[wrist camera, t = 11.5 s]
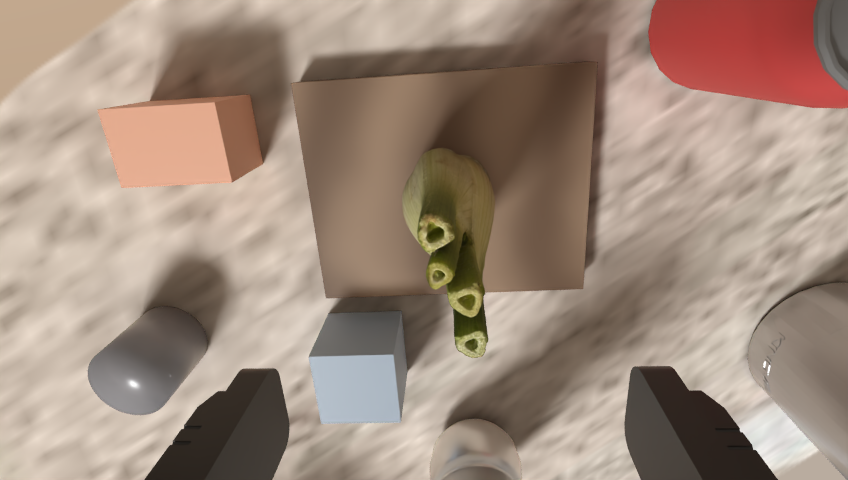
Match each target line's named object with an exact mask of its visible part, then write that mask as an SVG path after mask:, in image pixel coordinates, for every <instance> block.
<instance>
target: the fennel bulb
mask: <svg viewBox="0 0 848 480" xmlns="http://www.w3.org/2000/svg"><path fill="white" fill-rule="evenodd" d="M402 211H403V216H404V219H405V222H406V224H407V225H408V227H409V229H410V231H411V233H412V234H413V236H414V237H415V238H416V240H417V241H418V242H419V244H420V245H421V247H422V248H423V249H424V250H425V251H426V252H427V253H428V254H430V255H431V256H430V259H429V262H428V265H427V269H426V278H427V281H428V284H429V286H430V287H431V288H433V289H435V290H436V289H438V288H440V287H441V286H443V285H445V284H446V289H447V295H448V299H449V303H450V305H451V307H452V308H453V313H454V337H455V345H456V347H457V349H458V351H459V352H462V353H463V354H464V355H466V356H469V357H471V358H477V357H482V356H483V355H484V353H485V347H486V343H487V342H488V335H487V326H486V317H485V311H484V303H483V296H484V294H485V288H484V285H483V270H484V266H485V257H486V252H487V248H488V244H489V239H490V235H491V230H492V225H493V219H494V211H495V197H494V192H493V189H492V185H491V182H490V177H489V175H488V173H487V171H486V170H485V168H484V167H483V165H482V164H481V163H480V162H479V161H478V160H476V159H475V158H473V157H471V156H468V155H458V154H456V153H455V152H454V151H452V150H450V149H446V148H436V149H432V150H430V151H426V152H425V153H424V154H423V155H422V156H421V157H420V159H419V161H418V162H417V164H416V167H415V169H414V171H413V173H412V174H411V176H410V177H409V179H408V180H407V182H406V184H405V187H404V190H403V194H402Z"/></svg>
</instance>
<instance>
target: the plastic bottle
mask: <svg viewBox="0 0 848 480" xmlns="http://www.w3.org/2000/svg"><path fill="white" fill-rule="evenodd" d="M430 479H431V480H522V468H521V461H520V458H519V456H518V453H517V450H516V448H515V445H514V442H513V440H512V439H511V437H510V436H509V435H508V434H507V433H506V432H505V431H504V430H503V429H501V428H500V427H499V426H497V425H495V424H494V423H492V422H489V421H487V420H482V419H466V420H462V421H459V422H457V423H455V424H453V425H451V426H450V427H449V428H447V429H446V430H445V431H444V432H443V433H442V434H441V435H440V436H439V438H438V439H437V441H436V443H435V446H434V449H433V453H432V457H431V461H430Z"/></svg>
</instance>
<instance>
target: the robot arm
mask: <svg viewBox="0 0 848 480" xmlns="http://www.w3.org/2000/svg"><path fill="white" fill-rule="evenodd" d="M748 363H749V369H750V372H751V374H752V376H753V377H754V379H755V381H756V382H757V383H758V384H759V385H760V386H761V387H762V388H763V390H764V391H765V392H766V393H767V394H768V395H769V396H770V397H771V398H772V399H773V400H774V401H775V403H776V404H777V405H778V406H779V407H780V408H781V409H782V410H783V411H784V412H785V413H786V415H787V416H788V417H789V418H790V419H791V420H792V421H793V422H794V423H795V424H796V426H797V427H798V428H799V429H800V430H801V431H802V432H803V433H804V434H805V435H806V437H807V438H808V439H809V440H810V441H811V442H812V443H813V444H814V445H815V446H816V447H817V448H818V450H819V451H820V452H821V453H822V454H823V455H824V456H825V457H826V458H827V459H828V460H829V461H830V462H831V463H832V465H833V466H834V467H835V468H836V469H837V470H838V471H839V472H840V473H841V474H842V475H843V476H844V477H845V479H846V480H848V282H845V283H829V284H824V285H819V286H815V287H812V288H809V289H807V290H804V291H801V292H799V293H797V294H795V295H793V296H792V297H790V298H788V299H786V300H784V301H783V302H782V303H780V304H779V305H778V306H777V307H775V308H774V309H773V310H772V311H771V312H770V313H769V314H768V315H767V316H766V317H765V318H764V319H763V320H762V321H761V323H760V324H759V326H758V327H757V329H756V331H755V332H754V334H753V336H752V339H751V342H750V345H749V350H748ZM625 436H626V442H627V446H628V450H629V452H630V455H631V457H632V460H633V462H634V464H635V467H636V469H637V471H638V474H639V476H640V478H641V480H778V479H777V478H776V477H775V475H774V474H773V473H772V471H771V470H770V469H769V467H768V466H767V465H766V463H765V462H764V461H763V459H762V458H761V456H760V455H759V454H758V452H757V451H756V450H753V447H752V444H751V443H750V442H749V440H748V439H747V438H746V436H745V435H744V434H743V433H741V432H740V428H739V427H738V426H737V424H736V423H735V422H734V420H733V419H732V418H731V416H730V415H729V414H728V412H727V411H726V410H725V408H724V407H722V406H721V405H720V404H718V403H717V402H716V401H714V400H713V399H712V398H710V397H709V396H708V395H706V394H705V393H704V392H702V391H689V390H688V389H687V387H686V386H685V384H684V383H683V381H682V380H681V378H680V377H679V375H678V374H677V372H676V371H675V370H674V369H673V368H672V367H670V366H640V367H633V368H632V370H631V374H630V382H629V390H628V398H627V406H626V415H625ZM288 437H289V418H288V413H287V409H286V404H285V399H284V394H283V390H282V385H281V380H280V376H279V373H278V371H277V370H276V369H274V368H273V369H242V370H241V371H239V373H238V374H237V375H236V377H235V378H234V380H233V381H232V383H231V384H230V386H229V387H228V389H227V390H226V391H218V392H216V393H215V394H214V395H213V396H211V397H210V398H209V399H208V400H206V401H205V402H204V403H202V404H201V405H200V406H199V407H197V409H196V410H195V412H194V413H193V414H192V416H191V417H190V418H189V420H188V421H187V422H186V424H185V425H184V429H181V431H180V432H179V433H178V435H177V436H176V437H175V439H174V440H173V444H172V445H170V446H169V447H168V448H167V450H166V451H165V452H164V454H163V455H162V457H161V458H160V459H159V461H158V462H157V463H156V465H155V466H154V467H153V469H152V470H151V471H150V473H149V474H148V476H147V477H146V478H145V480H272V479H273V477H274V474H275V472H276V470H277V467H278V465H279V463H280V461H281V458H282V456H283V454H284V451H285V449H286V446H287V442H288Z"/></svg>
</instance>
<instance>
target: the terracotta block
mask: <svg viewBox="0 0 848 480" xmlns="http://www.w3.org/2000/svg"><path fill="white" fill-rule="evenodd" d="M98 113H99V116H100V120H101V123H102V126H103V129H104V133H105V136H106V139H107V142H108V146H109V149H110V152H111V155H112V159H113V162H114V165H115V168H116V171H117V175H118V178H119V181H120V184H121V188H130V187H150V186H170V185H190V184H210V183H230V182H234V181H235V180H237V179H239V178H240V177H242V176H243V175H245V174H247V173H248V172H250V171H252V170H253V169H255V168H257V167H258V166H260V165H262V164H263V160H262V155H261V150H260V144H259V139H258V134H257V129H256V124H255V118H254V113H253V108H252V103H251V97H250V95H237V96H221V97H206V98H190V99H174V100H158V101H147V102H141V103H135V104H129V105H123V106H117V107H111V108H104V109H98Z"/></svg>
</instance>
